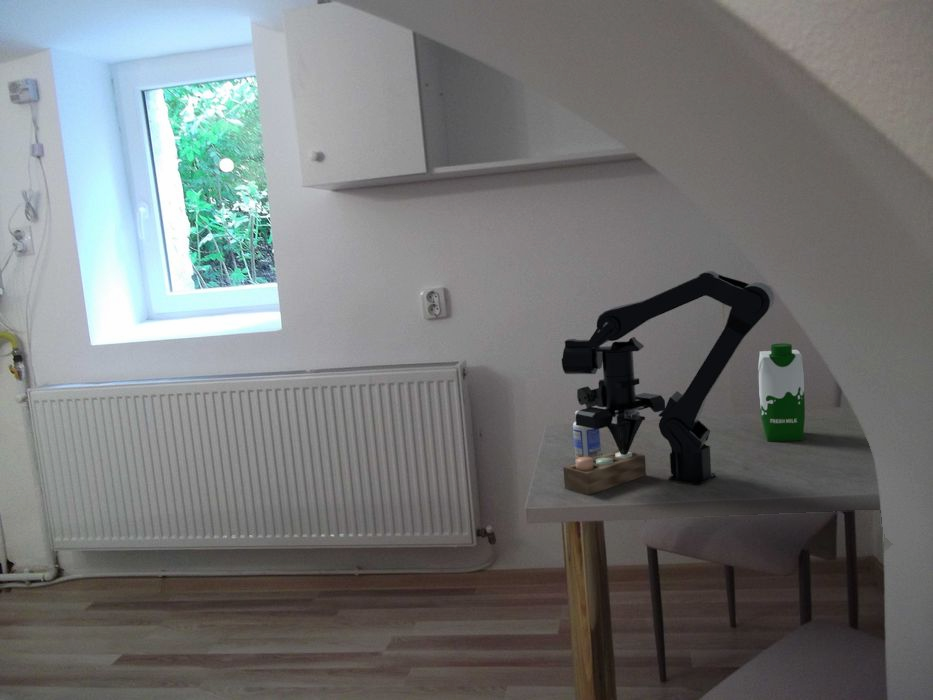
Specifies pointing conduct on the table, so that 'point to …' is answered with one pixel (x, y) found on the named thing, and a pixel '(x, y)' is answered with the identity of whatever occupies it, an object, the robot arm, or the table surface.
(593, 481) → the wooden egg tray
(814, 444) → the table surface
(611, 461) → the sage egg
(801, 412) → the milk carton
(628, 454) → the white rounded piece
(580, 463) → the peach oval piece
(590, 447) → the pill bottle
